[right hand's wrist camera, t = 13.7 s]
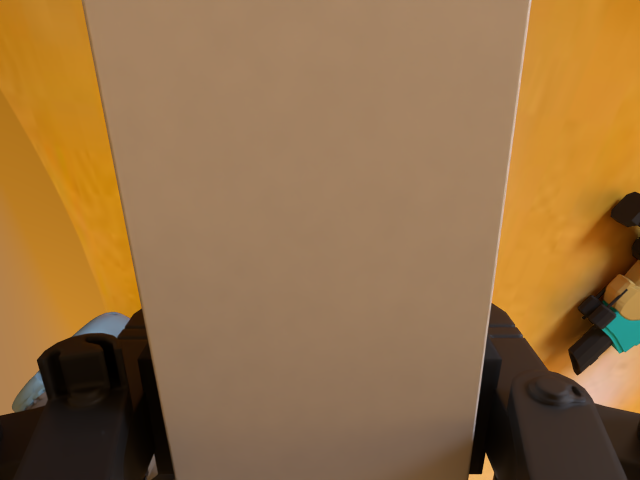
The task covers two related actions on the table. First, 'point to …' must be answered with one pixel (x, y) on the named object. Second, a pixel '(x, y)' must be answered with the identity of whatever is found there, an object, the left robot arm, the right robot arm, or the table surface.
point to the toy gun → (613, 302)
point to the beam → (313, 223)
